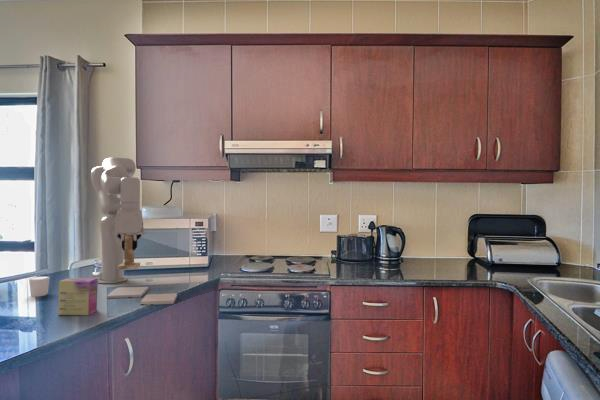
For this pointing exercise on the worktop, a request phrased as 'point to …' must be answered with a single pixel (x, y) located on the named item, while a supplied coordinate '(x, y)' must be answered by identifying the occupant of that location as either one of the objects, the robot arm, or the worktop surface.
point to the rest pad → (127, 292)
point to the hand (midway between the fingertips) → (129, 249)
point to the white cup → (39, 286)
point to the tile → (159, 299)
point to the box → (77, 296)
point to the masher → (128, 254)
